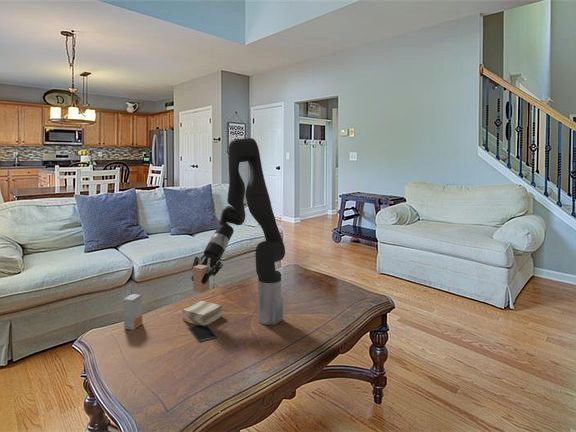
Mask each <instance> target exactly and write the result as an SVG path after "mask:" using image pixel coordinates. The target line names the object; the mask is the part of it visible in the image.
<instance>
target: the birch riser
mask: <svg viewBox="0 0 576 432" xmlns="http://www.w3.org/2000/svg"><path fill="white" fill-rule="evenodd" d="M222 308H223V307H222V305H220V304H217V303H213V302H209V301H205V300H199V301H197V302H196V303H194V304H193V303H192V304H191V305H189V306H187V307H185V308H183V309H182V321H183V322H186V323H191V324H194V325H203V326H205V325H208V326H209V325H210V324H212V323H213V322H215V321H216V320H218V319H221V317H222V316H223V309H222Z"/></svg>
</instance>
